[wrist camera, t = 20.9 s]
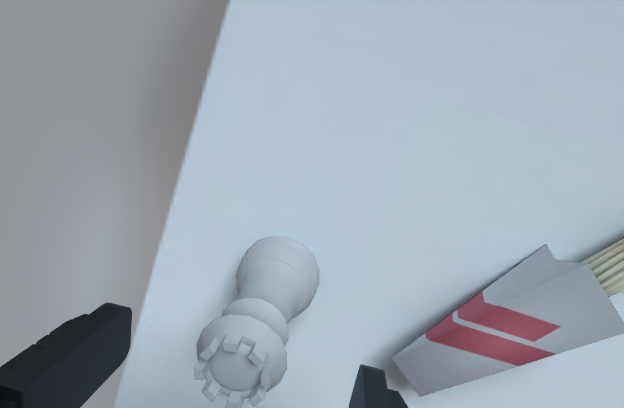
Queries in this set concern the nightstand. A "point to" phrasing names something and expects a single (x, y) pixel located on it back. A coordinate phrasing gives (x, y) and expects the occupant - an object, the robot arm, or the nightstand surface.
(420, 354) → the grey trowel
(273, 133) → the nightstand surface
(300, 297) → the rook chess piece
